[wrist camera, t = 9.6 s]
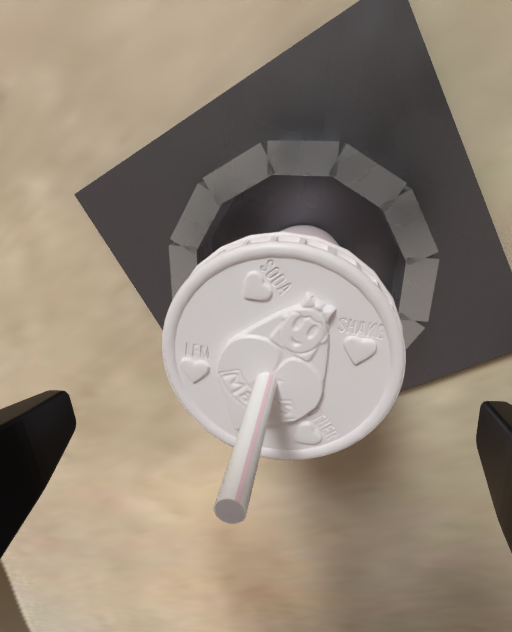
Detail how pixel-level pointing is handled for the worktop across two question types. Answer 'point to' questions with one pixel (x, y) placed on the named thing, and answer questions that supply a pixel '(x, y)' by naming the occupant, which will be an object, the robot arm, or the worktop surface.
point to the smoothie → (282, 352)
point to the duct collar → (327, 185)
